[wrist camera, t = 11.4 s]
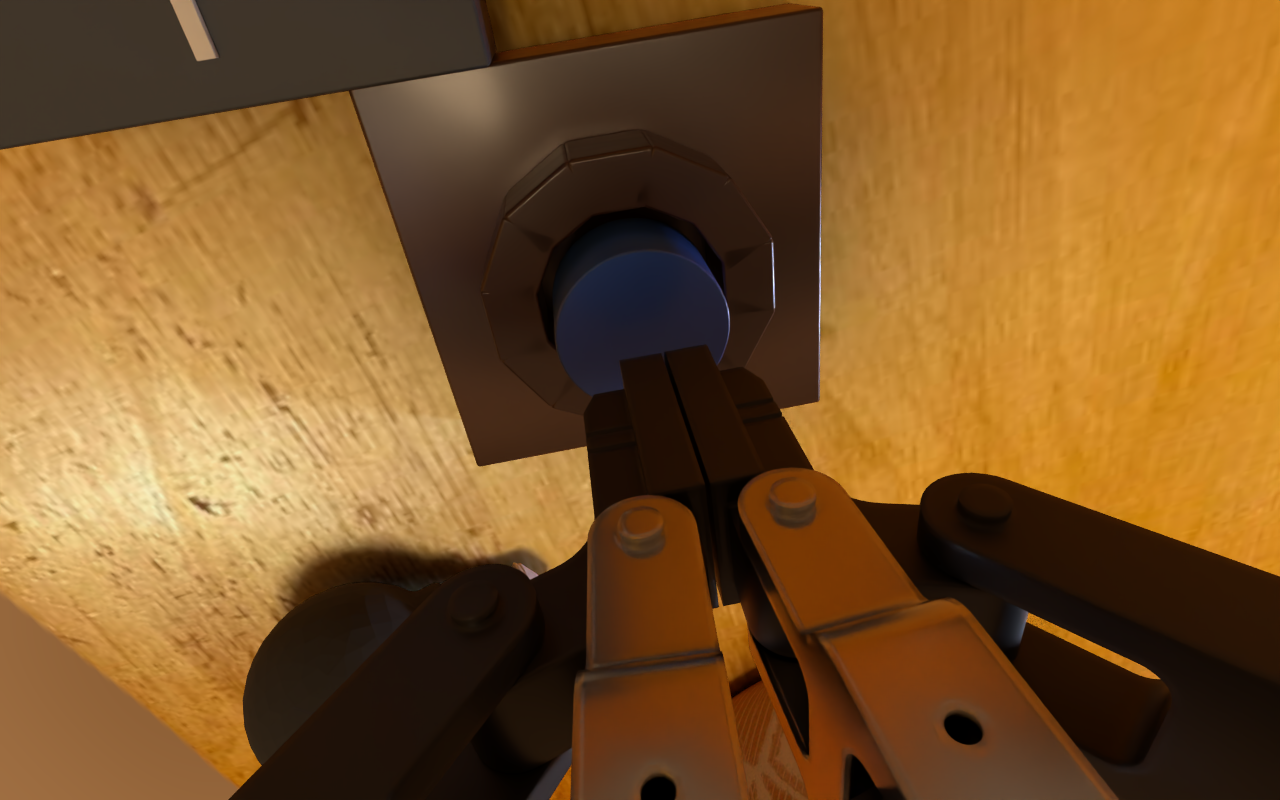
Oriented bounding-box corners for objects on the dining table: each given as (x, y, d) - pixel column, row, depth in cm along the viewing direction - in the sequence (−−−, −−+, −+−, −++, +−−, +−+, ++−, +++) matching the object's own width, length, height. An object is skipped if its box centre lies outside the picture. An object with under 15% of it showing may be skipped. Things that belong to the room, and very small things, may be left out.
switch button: (536, 233, 14) (536, 268, 13) (701, 203, 15) (724, 233, 13) (569, 376, 16) (573, 423, 15) (714, 349, 17) (735, 392, 15)
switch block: (368, 73, 16) (323, 101, 12) (790, 2, 16) (859, 9, 13) (482, 424, 21) (472, 510, 18) (796, 365, 21) (844, 438, 18)
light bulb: (610, 700, 22) (303, 895, 19) (551, 605, 28) (307, 745, 25) (541, 542, 20) (180, 735, 17) (492, 475, 26) (214, 610, 23)
